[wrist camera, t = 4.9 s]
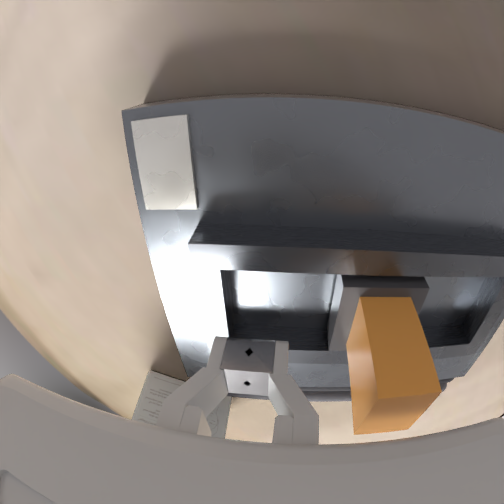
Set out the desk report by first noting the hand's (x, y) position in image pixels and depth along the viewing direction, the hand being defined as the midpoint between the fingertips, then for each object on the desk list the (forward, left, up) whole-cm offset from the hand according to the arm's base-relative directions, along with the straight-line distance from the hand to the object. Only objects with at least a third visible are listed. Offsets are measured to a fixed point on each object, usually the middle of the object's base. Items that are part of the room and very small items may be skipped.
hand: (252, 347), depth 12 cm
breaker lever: (-5, 0, -3) cm, 7 cm away
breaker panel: (-5, 0, -6) cm, 8 cm away
